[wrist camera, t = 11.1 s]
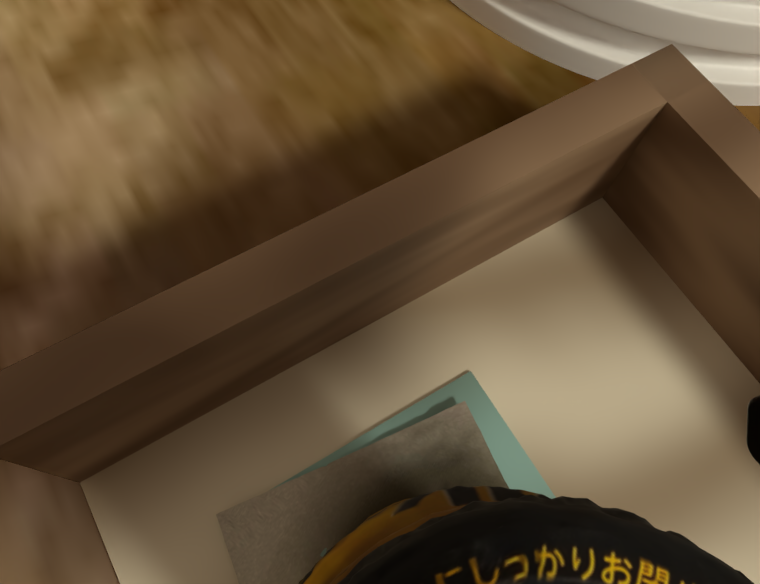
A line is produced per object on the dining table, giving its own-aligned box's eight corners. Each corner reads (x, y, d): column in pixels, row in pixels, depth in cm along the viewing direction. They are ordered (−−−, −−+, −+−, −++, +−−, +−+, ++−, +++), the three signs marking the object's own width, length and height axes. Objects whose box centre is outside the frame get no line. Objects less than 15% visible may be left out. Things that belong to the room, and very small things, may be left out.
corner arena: (1028, 635, 16) (1293, 663, 12) (391, 1249, 12) (417, 1694, 7) (605, 152, 22) (671, 44, 17) (64, 435, 17) (-39, 389, 13)
